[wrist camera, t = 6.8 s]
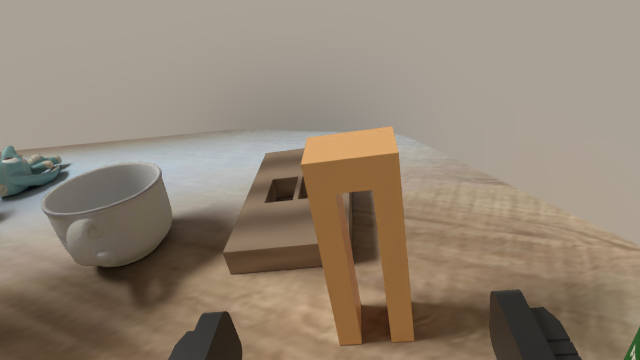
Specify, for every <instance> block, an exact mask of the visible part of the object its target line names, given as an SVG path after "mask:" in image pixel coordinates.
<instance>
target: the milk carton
mask: <svg viewBox="0 0 640 360" xmlns="http://www.w3.org/2000/svg"><path fill="white" fill-rule="evenodd" d="M624 360H640V327H639V329H638V332H637V334H636V336H635V338H634V340H633V342H632V344H631V346H630V348H629V350H628V352H627V354H626V356H625V358H624Z"/></svg>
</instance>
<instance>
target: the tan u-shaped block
mask: <svg viewBox="0 0 640 360" xmlns="http://www.w3.org/2000/svg"><path fill="white" fill-rule="evenodd" d="M301 168H302V173H303V177H304V182H305V186H306V191H307V196H308V200H309V205H310V209H311V214H312V218H313V223H314V228H315V232H316V237H317V241H318V246H319V251H320V255H321V260H322V264H323V269H324V274H325V278H326V283H327V287H328V292H329V297H330V301H331V306H332V310H333V315H334V320H335V324H336V329H337V333H338V338H339V343H340V345H354V344H362V326H361V302H360V296H359V290H358V285H357V279H356V273H355V267H354V261H353V255H352V249H351V243H350V237H349V231H348V225H347V219H346V213H345V207H344V201H343V195H342V193H350V192H359V191H368V190H373V197H374V205H375V213H376V221H377V229H378V237H379V245H380V253H381V261H382V269H383V277H384V285H385V293H386V301H387V309H388V317H389V325H390V333H391V341H392V342H407V341H414V330H413V318H412V306H411V295H410V283H409V271H408V259H407V247H406V236H405V224H404V212H403V200H402V188H401V177H400V165H399V153H398V149H397V144H396V140H395V136H394V132H393V128H392V127H384V128H376V129H370V130H362V131H354V132H346V133H339V134H331V135H324V136H316V137H309V138H307V141H306V145H305V149H304V153H303V157H302V161H301Z"/></svg>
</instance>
